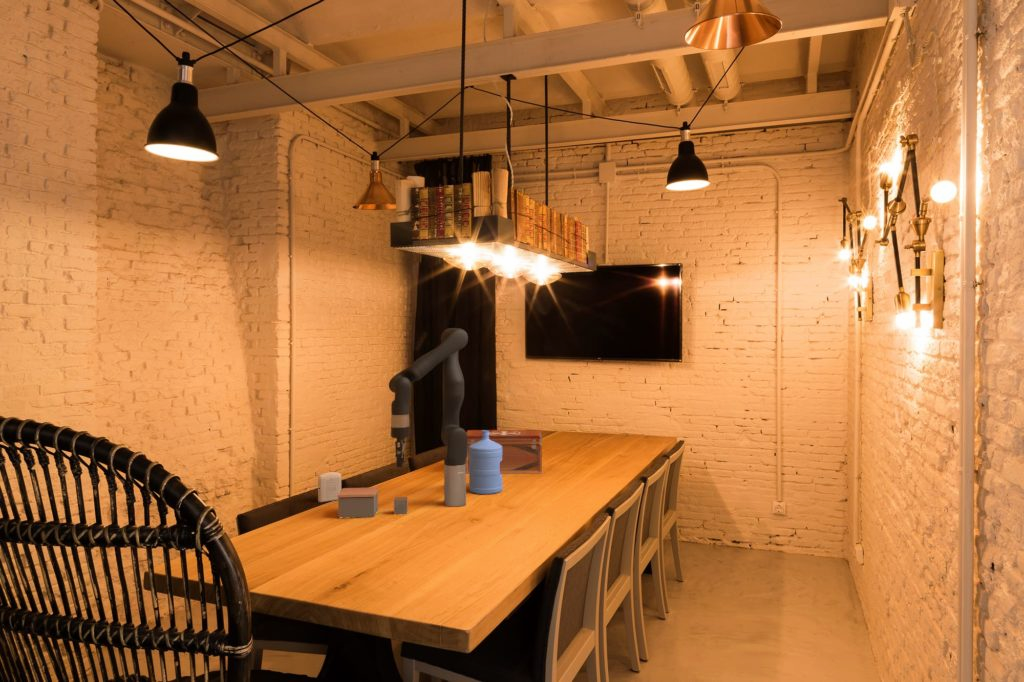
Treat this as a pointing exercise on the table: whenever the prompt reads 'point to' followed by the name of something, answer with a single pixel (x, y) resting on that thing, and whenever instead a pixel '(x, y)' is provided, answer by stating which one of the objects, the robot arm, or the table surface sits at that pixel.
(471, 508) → the table surface
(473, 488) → the water jug
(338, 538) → the table surface
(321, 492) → the photo printer
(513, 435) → the wooden box
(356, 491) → the lid
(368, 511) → the box
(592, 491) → the table surface
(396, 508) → the weight
